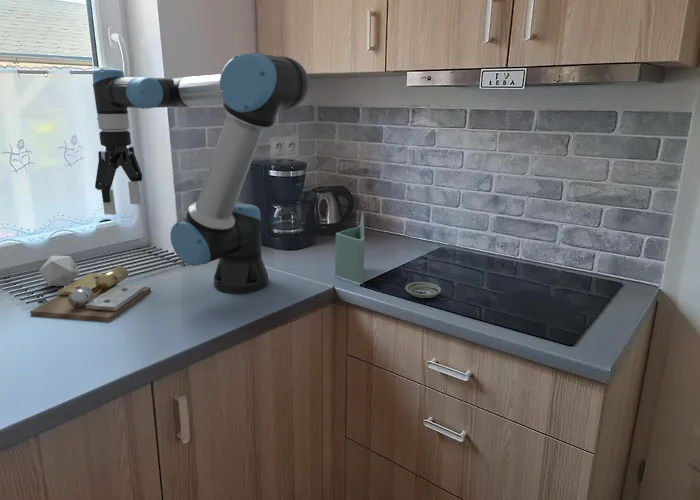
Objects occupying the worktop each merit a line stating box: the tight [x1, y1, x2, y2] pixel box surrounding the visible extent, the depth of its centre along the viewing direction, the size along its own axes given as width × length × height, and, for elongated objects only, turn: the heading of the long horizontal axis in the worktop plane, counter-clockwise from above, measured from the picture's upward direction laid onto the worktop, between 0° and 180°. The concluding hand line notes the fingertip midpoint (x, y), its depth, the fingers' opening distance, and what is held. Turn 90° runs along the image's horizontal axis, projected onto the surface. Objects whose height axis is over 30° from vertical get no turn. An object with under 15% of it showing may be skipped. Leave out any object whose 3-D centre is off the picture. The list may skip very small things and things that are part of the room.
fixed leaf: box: [68, 284, 145, 311], centre depth 133 cm, size 12×14×4 cm
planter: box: [334, 212, 365, 285], centre depth 155 cm, size 16×8×20 cm, turn 2°
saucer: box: [404, 281, 442, 299], centre depth 144 cm, size 10×10×2 cm
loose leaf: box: [57, 265, 129, 296], centre depth 141 cm, size 12×14×4 cm
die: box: [38, 255, 81, 287], centre depth 145 cm, size 8×9×10 cm
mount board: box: [30, 285, 152, 323], centre depth 134 cm, size 20×20×1 cm
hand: (123, 209), depth 146 cm, fingers open, 13 cm apart
